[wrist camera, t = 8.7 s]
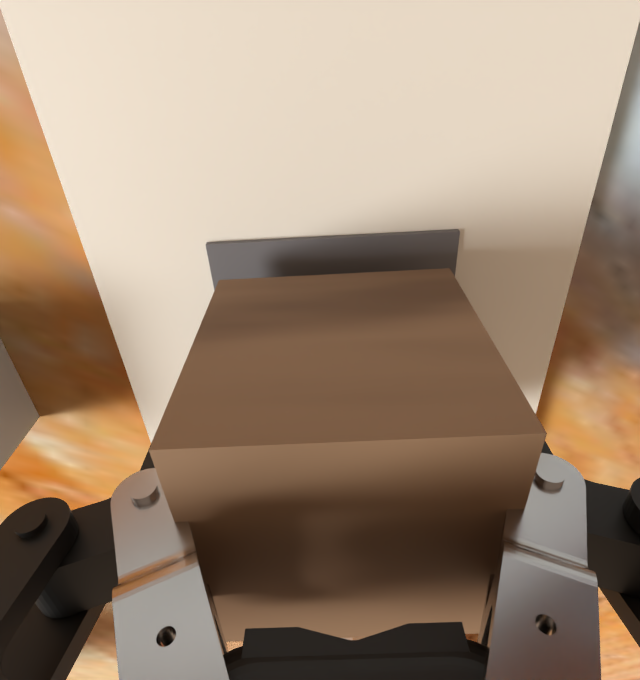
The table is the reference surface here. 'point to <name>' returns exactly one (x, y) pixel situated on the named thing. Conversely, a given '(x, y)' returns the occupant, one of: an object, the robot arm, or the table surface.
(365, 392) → the walnut block
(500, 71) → the cream board
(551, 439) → the table surface
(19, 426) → the slate block
